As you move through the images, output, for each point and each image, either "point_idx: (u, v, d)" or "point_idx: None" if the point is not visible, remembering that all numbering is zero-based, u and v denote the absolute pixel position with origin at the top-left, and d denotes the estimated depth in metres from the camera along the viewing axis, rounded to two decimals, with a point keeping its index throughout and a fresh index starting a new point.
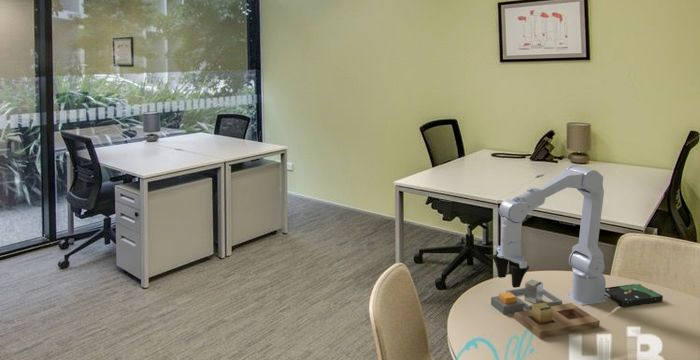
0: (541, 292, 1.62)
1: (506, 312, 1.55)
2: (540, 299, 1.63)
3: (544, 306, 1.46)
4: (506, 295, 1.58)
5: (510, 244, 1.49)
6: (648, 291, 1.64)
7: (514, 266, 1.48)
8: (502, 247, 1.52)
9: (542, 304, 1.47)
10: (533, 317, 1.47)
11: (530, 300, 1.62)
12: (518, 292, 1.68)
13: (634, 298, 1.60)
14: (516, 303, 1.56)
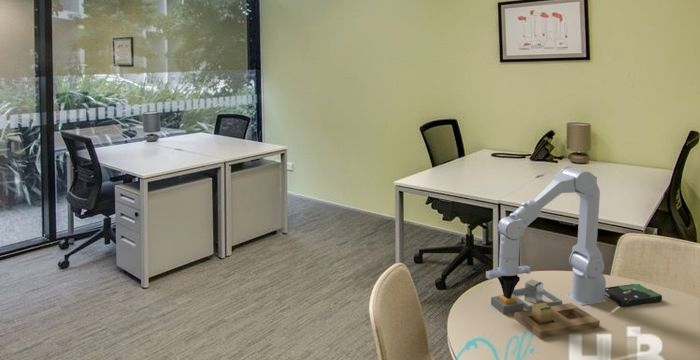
0: (541, 292, 1.62)
1: (506, 312, 1.55)
2: (540, 299, 1.63)
3: (544, 306, 1.46)
4: None
5: (499, 256, 1.56)
6: (647, 291, 1.64)
7: None
8: None
9: (542, 304, 1.47)
10: (533, 317, 1.47)
11: (530, 300, 1.62)
12: (518, 292, 1.68)
13: (633, 298, 1.60)
14: (516, 303, 1.56)
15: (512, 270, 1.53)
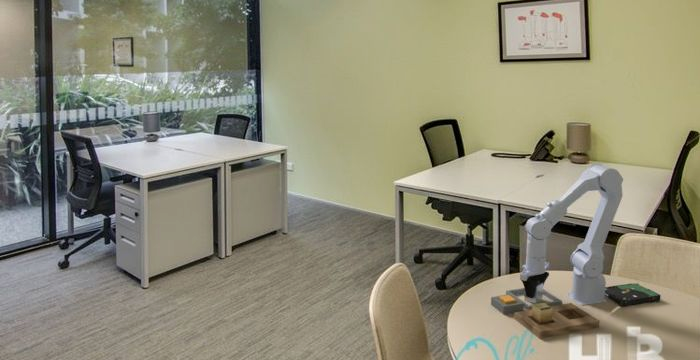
0: (541, 292, 1.62)
1: (506, 312, 1.55)
2: (540, 299, 1.63)
3: (544, 306, 1.46)
4: (506, 298, 1.58)
5: (527, 257, 1.60)
6: (646, 290, 1.65)
7: None
8: None
9: (542, 304, 1.47)
10: (533, 317, 1.47)
11: (530, 300, 1.62)
12: (518, 292, 1.68)
13: (632, 297, 1.60)
14: (516, 303, 1.56)
15: (542, 268, 1.59)
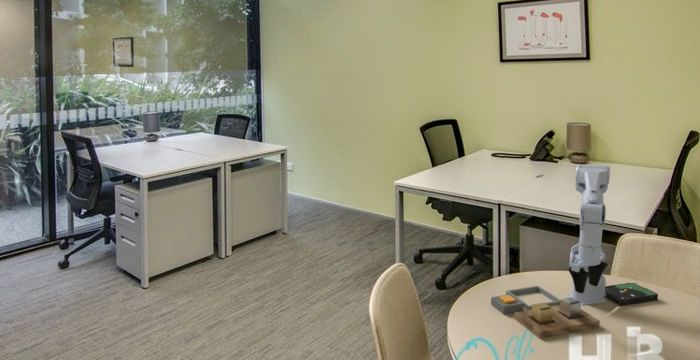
0: (578, 312, 1.48)
1: (506, 312, 1.55)
2: None
3: (544, 306, 1.46)
4: (506, 298, 1.58)
5: (580, 246, 1.45)
6: (643, 289, 1.66)
7: None
8: None
9: (542, 304, 1.47)
10: (533, 317, 1.47)
11: None
12: (518, 292, 1.68)
13: (630, 297, 1.61)
14: (516, 303, 1.56)
15: (597, 259, 1.43)
